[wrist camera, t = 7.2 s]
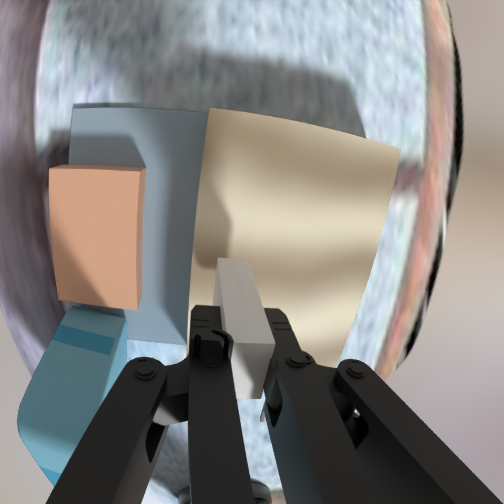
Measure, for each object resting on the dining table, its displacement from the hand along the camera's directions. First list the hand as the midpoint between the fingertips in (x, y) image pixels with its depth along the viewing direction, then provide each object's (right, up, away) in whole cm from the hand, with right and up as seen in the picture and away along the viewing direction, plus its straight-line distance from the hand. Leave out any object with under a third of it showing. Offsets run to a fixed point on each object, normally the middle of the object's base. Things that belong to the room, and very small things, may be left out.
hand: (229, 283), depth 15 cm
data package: (-12, -8, +7) cm, 16 cm away
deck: (+3, +2, +6) cm, 6 cm away
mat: (-7, +3, +4) cm, 8 cm away
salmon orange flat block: (-9, +2, +1) cm, 9 cm away
